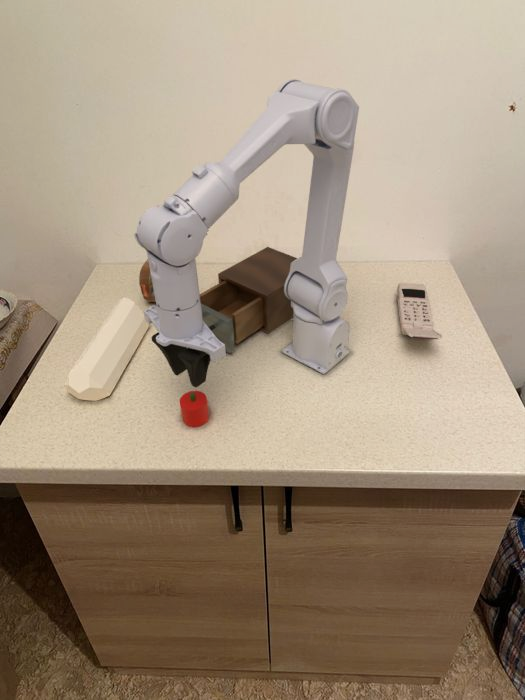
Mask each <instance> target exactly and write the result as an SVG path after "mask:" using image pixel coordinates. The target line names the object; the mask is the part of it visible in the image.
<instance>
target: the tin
mask: <svg viewBox="0 0 525 700" xmlns="http://www.w3.org/2000/svg"><path fill="white" fill-rule="evenodd" d="M138 284H139V287H140V291H141V295H142V298H143V300H144V301H146V302H153V303H156V300H155V295H154V289H153V284H152V278H151V273H150V266H149V261H148V258H147V259H146V260H145V262H144V263H143V264H142V266H141V268H140V271H139V277H138Z"/></svg>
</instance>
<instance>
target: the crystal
mask: <svg viewBox="0 0 525 700" xmlns="http://www.w3.org/2000/svg"><path fill="white" fill-rule="evenodd" d="M149 327H150V324H149V323H147V322H146V321H145V316H144V312H143V311H142V310H141V309H140V308H139V306H138V305H137V304H136V303H135V302H134V301H133V300H132V299H130V298H128V297H126V296H123V297H122V298H120V299H119V301H117V303H116V304H115V305H114V307H113V308H112V310H111V311H110V313H109V314H108V316H107V317H106V318H105V320H104V321H103V323H102V324H101V326H100V327H99V329H98V330H97V331H96V333H95V334H94V335H93V337H92V339H90V342H89V343H88V344H87V346H86V347H85V349H84V350H83V351H82V352H81V355H80V356H79V358H78V359H77V360H76V362H75V363H74V364H73V366H72V367H71V369H70V370H69V372H68V374H67V376H66V379H65V382H64V384H63V385H64V388H65V390H66V392H68V393H69V394H71V396H73V397H75V398H76V399H78V400H82V401H93V402H94V401H95V402H96V401H100V400H102V399H104V398H108V397H110V396H111V394H112V393H113V391H114V389H115V387H116V385H117V384H118V383H119V381H120V378H121V376H122V375H123V373H124V372H125V369H126V367H127V366H128V364H129V362H130V360H131V359H132V358H133V355H134V353H135V352H136V350H137V348H138V347H139V345H140V343H141V341H142V340H143V338H144V336H145V334H146V332H147V331H148V329H149Z"/></svg>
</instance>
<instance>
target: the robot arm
mask: <svg viewBox="0 0 525 700" xmlns="http://www.w3.org/2000/svg"><path fill="white" fill-rule="evenodd" d="M359 112H360V106H359V104H358V103H357V101H356V100H355V99H354V97H353V95H352V94H351V93H350V92H349V91H348V90H346V89H344V88H333V87H328V86H323V85H318V84H315V83H314V84H313V83H310V82H309V83H308V82H304V81H301V80H299V79H296V78H291V79H288V80H285V81H284V82H283V83H282V84H281V85H280V86H279V87H278V88H277V90H276V91H274V92H273V93H272V94H270V95H269V96H268V98H267V103H266V108H265V110H264V111H263V112H262V114H261V115H260V116H259V117H258V118H257V119H256V121H255V122H254V123H253V124H252V125H251V126H250V127H249V129H248V130H247V131H245V133H243V135H242V137H241V138H240V139H239V140H238V141H237V142H236V143H235V144H234V146H233V147H231V149H230V150H229V151H228V153H226V155H225V156H224V157H223V158H222V160H221V161H219V162H212V161H208V162H207V161H206V162H205V163H203V165H201V164H198V165H196V166H195V167H194V168H193V169H192V170H191V174H192V175H191V177H189V178H188V179H187V180H186V181H185V182H184V183H183V184H182V185H181V186H180V187H179V188H178V189H177V190H176V191H175V192H174V193H173V194H171V195H168V196H167V197H166V199H164V201H163V205H162V204H159V205H158V204H157V205H156V206H152V207H150V208H148V209H147V210H145V211H144V213H143V214H142V215H141V216H140V218H139V220H138V223H137V228H136V231H135V232H134V233H133V235H134V239H135V241H136V242H137V244H138V245H139V246H140V247H141V248H143V249H144V250H145V251H146V255H147V259H148V261H149V266H150V273H151V278H152V284H153V289H154V295H155V300H156V302H155V304H156V305H155V304H153V305H152V306H149V307H148V308H145V309H144V310H143V314H144V316H145V321H146V322H147V323H148V324H149V325H150V324H151V325H152V326H154V328H155V329H156V331H157V332H156V333H154V334H153V335H152V336H151V342H152V343H153V344H155V346H156V347H157V348H158V349H159V350H160V351H161V353H162V354H163V356H164V358H165V359H166V361H167V363H168V365H169V367H170V370H171V371H172V372H173V375H175V376H176V377H178V376H180V375H181V374H182V373H184V372H185V371H187V374H188V375H187V376H188V379H189V382H190V384H191V386H192V387H193V388H195V389H196V388H198V387H200V386H201V385H202V384H204V383H205V382H206V381H207V375H208V371H209V366H210V363H211V362H213V363H215V364H216V363H217V362H219V361H220V360H222V359H223V358H225V357H226V356H227V353H226V352H227V351H226V350H225V344H223V343H222V342H220V341H219V340H218V339H217V338H216V336H215V335H214V334H213V333H212V331H211V330H210V329H209V328H208V326H207V325H206V324H205V322H204V321H203V319H202V310H201V302H200V294H201V293H200V286H199V278H198V270H197V261H196V258H197V257H199V255H200V254H201V251H202V248H203V244H204V240H205V238H206V237H207V236H208V232H209V231H210V230H209V229H211V228H212V226H213V225H214V224H215V223H216V222H217V221H218V220H219V219H221V217H222V216H224V214H225V213H226V212H227V211H228V210H229V209H230V208H231V207H232V206H233V205H234V204H235V203H236V202H237V201H238V200H239V197H240V185H241V183H242V182H244V181H245V180H246V179H247V178H248V177H249V176H251V175H252V174H253V173H254V172H255V171H256V170H258V169H259V168H260V167H261V166H262V165H263V164H265V162H267V161H268V160H269V159H270V158H272V157H273V156H274V155H275V154H276V153H277V152H278V151H279V150H280V149H281V148H283V147H284V146H286V145H304V146H305V148H307V149H308V151H309V152H310V153H311V155H312V156H313V160H312V168H311V176H310V186H309V194H308V201H307V202H308V203H307V211H306V220H305V227H304V236H303V245H302V254H301V256H300V257H297V258H298V259H296V260H294V261H293V262H292V263H291V266H290V272H289V275H288V277H287V279H286V281H285V285H284V293H285V296H286V297H287V298H288V299H290V300H291V307H292V308H293V310H294V313H293V317H292V318H293V319H292V323H293V324H292V342H291V343H290V344H289V345H287V346H286V347H285V348H283V349H282V353H283V354H284V355H286V356H288V357H290V358H292V359H294V360H295V361H297V362H299V363H301V364H303V365H305V366H307V367H309V368H311V369H313V370H314V371H316V372H318V373H320V374H322V375H325V374H327V373H328V372H329V371H330V370H332V369H333V368H334V367H335V366H336V365H337V364H339V362H341V361H342V360H343V359H344V358H345V357H347V356H348V355H349V354H350V350H349V339H350V330H351V329H350V328H351V327H350V323H349V322H348V321H347V320H346V319H344V318H343V317H341V314H342V313H343V311H344V310H345V308H346V306H347V303H348V296H349V293H348V289H347V283H348V276H347V274H346V273H345V271H344V269H343V268H342V267H341V265H340V263H339V262H338V260H337V256H338V249H339V242H340V237H341V232H342V231H341V230H342V226H343V225H342V224H343V218H344V212H345V211H344V210H345V206H346V199H347V193H348V186H349V181H350V173H351V167H352V161H353V155H354V149H355V137H356V130H357V124H358V117H359Z"/></svg>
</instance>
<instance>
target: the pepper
mask: <svg viewBox="0 0 525 700" xmlns="http://www.w3.org/2000/svg"><path fill="white" fill-rule="evenodd" d="M179 408H180V413H181V419H182V422H183V424H184V425H186V426H187V427H190V428H199V427H202V426H204V425H205V424H206V423H207V422H208V421H209V419H210V410H209V403H208V397H207V395H206V394H205V393H204V392H202V391H200V390H190V391H188V392H185V393H184V394H182V395H181V396H180V399H179Z"/></svg>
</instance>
